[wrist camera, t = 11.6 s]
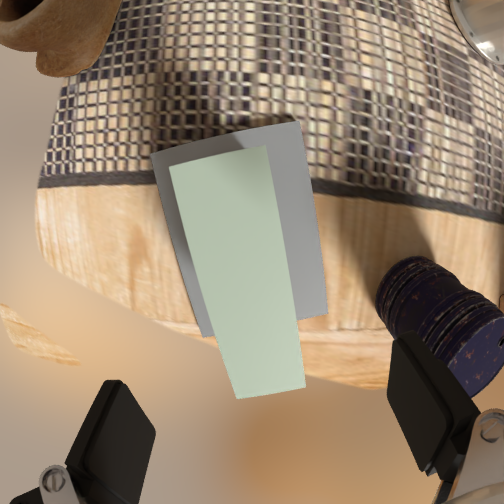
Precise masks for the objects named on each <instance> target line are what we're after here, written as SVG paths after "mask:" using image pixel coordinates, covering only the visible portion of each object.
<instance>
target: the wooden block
mask: <svg viewBox="0 0 504 504" xmlns="http://www.w3.org/2000/svg"><path fill="white" fill-rule="evenodd" d="M499 310H501V311H502V312H503V313H504V294H503V295H502V296H501V298H500V308H499Z"/></svg>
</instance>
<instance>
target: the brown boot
mask: <svg viewBox="0 0 504 504" xmlns="http://www.w3.org/2000/svg"><path fill="white" fill-rule="evenodd" d="M121 2H122V0H0V44H2V45H4V46H6V47H9V48H11V49H14V50H18V51H23V52H37V57H36V68H37V70H38V71H39V72H40V73H41V74H44V75H47V76H51V77H67V76H72V75H75V74H78V73H79V72H80V71H81V70H83V69H88V68H90V67H91V66H92V65H93V64H94V63H95V62H96V61H97V59H98V58H99V56H100V54H101V52H102V50H103V48H104V46H105V44H106V41H107V39H108V37H109V35H110V32H111V30H112V27H113V24H114V21H115V18H116V15H117V13H118V10H119V8H120V5H121Z"/></svg>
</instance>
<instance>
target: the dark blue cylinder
mask: <svg viewBox="0 0 504 504" xmlns="http://www.w3.org/2000/svg"><path fill="white" fill-rule="evenodd" d="M376 310H377V313H378V316H379V317H380V319H381V320H382V321H383V322H384V324H385V326H386V328H387V329H388V331H389V332H390V334H391V335H392V336H393V338H394V340H396V339H397V336H398V335H399V334H401V333H405V332H408V331H411V330H414V331H415V332H416V333H417V334H418V335H419V336H420V338H421V339H422V340H423V342H424V343H425V344H426V345H427V347H428V348H429V349H430V350H431V352H432V353H433V354H434V356H435V357H436V358H437V359H440V360H442V361H443V362H444V363H445V364H446V365H447V367H448V368H449V369H450V371H451V372H452V373H453V375H454V376H455V377H456V379H457V380H458V381H459V383H460V384H461V385H462V387H463V388H464V389H465V391H466V392H467V394H468V395H469V396H470V398H472V397H474V396H475V395H477V394H478V393H479V392H481V391H482V390H483V389H484V388H485V387H486V386H487V385H488V384H489V383H490V382H491V381H492V380H493V379H494V378H495V377H496V375H497V374H498V373H499V371H500V370H501V369H502V367H503V366H504V313H503V312H502V311H501V310H499V309H498V307H497V306H496V305H495V304H494V303H492V302H491V301H490V300H488V299H486V298H485V297H484V296H483V295H482V294H480V293H478V292H476V291H473V290H469V289H468V288H466V287H465V286H464V285H462V284H461V283H460V281H459V280H458V279H457V278H456V276H455V275H454V274H453V273H451V272H449V271H448V270H446V269H445V268H443V267H442V266H440V265H438V264H435V263H434V262H432V261H431V260H429V259H428V258H426V257H422V256H412V257H408V258H406V259H404V260H401V261H400V262H398V263H397V264H396V265H394V266H393V267H392V268H391V269H390V270H389V271H388V272H387V274H386V275H385V276H384V278H383V280H382V281H381V283H380V285H379V288H378V291H377V295H376Z"/></svg>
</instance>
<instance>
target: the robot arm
mask: <svg viewBox="0 0 504 504" xmlns="http://www.w3.org/2000/svg"><path fill="white" fill-rule="evenodd" d="M449 2H450V8H451V12H452V14H453V17H454V19H455V22H456V23H457V25H458V27H459V29H460V31H461V32H462V34H463V36H464V37H465V38H466V40H467V41H468V42H469V44H470V45H471V46H472V47H473V48H474V50H476V51H477V52H478V53H479V54H480V55H481V56H482V57H483V58H484V59H486V60H487V61H489V62H490V63H492V64H495V65H503V64H504V0H449ZM387 398H388V401H389V403H390V406H391V408H392V410H393V412H394V414H395V416H396V418H397V420H398V423H399V425H400V427H401V429H402V431H403V433H404V436H405V438H406V440H407V442H408V445H409V447H410V449H411V451H412V453H413V456H414V458H415V460H416V463H417V465H418V467H419V470H420V471H421V472H423V471H425V472H426V475H427V476H430V475H432V474H434V473H436V472H437V473H438V476H439V478H440V480H441V482H440V485H439V487H438V490H437V492H436V494H435V497H434V499H433V501H432V504H504V410H501V409H497V408H495V409H489V410H486V411H484V412H482V413H481V412H480V411H479V410H478V408H477V406H476V405H475V404H474V402H473V401H472V400H471V398H470V396H469V395H468V394H467V392H466V391H465V389H464V388H463V387H462V385H461V384H460V383H459V381H458V380H457V379H456V377H455V376H454V375H453V373H452V372H451V371H450V369H449V368H448V367H447V365H446V364H445V363H444V362H443V361H442V360H440V359H437V358H436V357H435V356H434V354H433V353H432V352H431V350H430V349H429V348H428V347H427V345H426V344H425V343H424V342H423V340H422V339H421V338H420V336H419V335H418V334H417V333H416V332H415V331H414V330H411V331H408V332H405V333H401V334H399V335H398V336H397V339H396V340H393V343H392V354H391V363H390V372H389V380H388V387H387ZM155 436H156V431H155V428H154V426H153V425H152V423H151V422H150V420H149V419H148V418H147V416H146V415H145V413H144V412H143V410H142V409H141V407H140V406H139V404H138V402H137V401H136V399H135V398H134V396H133V395H132V393H131V391H130V390H129V388H128V386H127V385H126V384H124V383H123V382H122V381H121V380H106V381H104V383H103V385H102V386H101V388H100V391H99V392H98V394H97V396H96V398H95V400H94V402H93V404H92V406H91V408H90V410H89V412H88V414H87V416H86V418H85V420H84V422H83V424H82V426H81V428H80V430H79V432H78V435H77V437H76V439H75V441H74V443H73V445H72V447H71V450H70V452H69V454H68V456H67V458H66V461H65V464H66V465H67V468H66V469H65V468H64V467H63V466H60V465H52V466H49V467H48V468H46V469H45V470H44V471H43V472H42V474H41V475H40V478H39V487H37V488H35V489H33V490H31V491H29V492H26V493H24V494H22V495H20V496H17V497H16V498H14V499H13V500H12V501H11V502H10V504H138V503H139V500H140V495H141V491H142V487H143V483H144V479H145V475H146V471H147V467H148V463H149V459H150V455H151V451H152V447H153V443H154V440H155Z"/></svg>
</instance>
